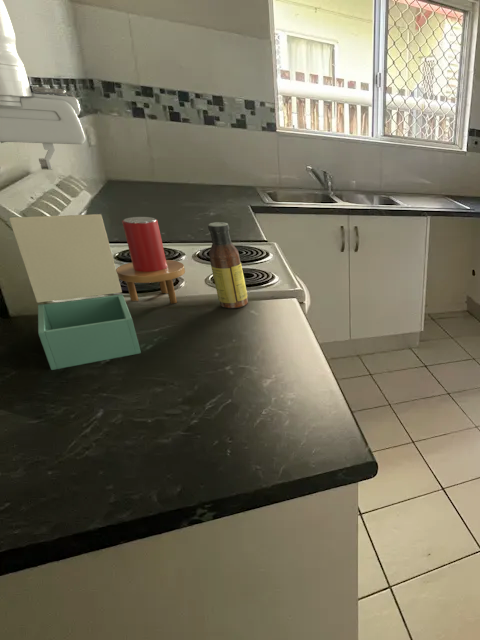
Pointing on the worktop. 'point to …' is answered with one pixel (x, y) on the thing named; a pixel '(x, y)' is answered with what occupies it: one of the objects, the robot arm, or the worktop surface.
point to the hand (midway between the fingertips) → (21, 169)
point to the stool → (152, 278)
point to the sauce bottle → (226, 267)
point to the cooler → (86, 331)
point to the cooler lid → (66, 256)
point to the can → (145, 243)
